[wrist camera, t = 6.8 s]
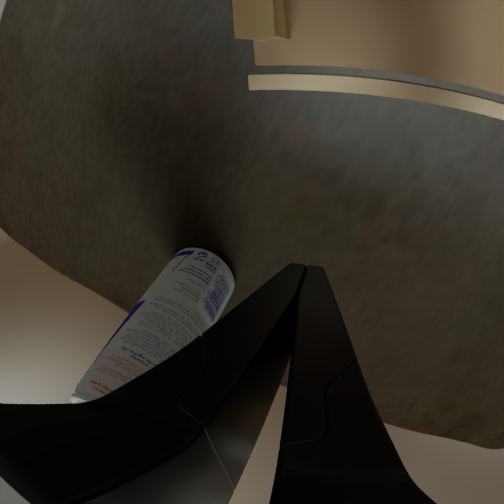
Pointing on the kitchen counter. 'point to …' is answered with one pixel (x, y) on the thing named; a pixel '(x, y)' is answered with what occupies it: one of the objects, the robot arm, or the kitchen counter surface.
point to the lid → (381, 36)
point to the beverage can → (161, 321)
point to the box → (375, 89)
